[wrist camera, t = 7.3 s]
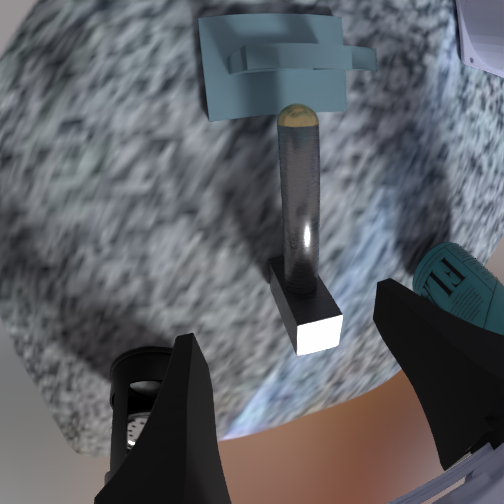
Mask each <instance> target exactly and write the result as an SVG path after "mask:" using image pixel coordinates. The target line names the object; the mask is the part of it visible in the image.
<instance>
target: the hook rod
mask: <svg viewBox="0 0 504 504" xmlns="http://www.w3.org/2000/svg"><path fill="white" fill-rule="evenodd" d="M277 130H278V145H279V161H280V179H281V198H282V219H283V243H284V256H283V257H278V258H272V259H268V261H269V276H270V289H271V292H272V294H273V297H274V299H275V302H276V304H277V307H278V309H279V312H280V314H281V317H282V320H283V322H284V325H285V327H286V330H287V332H288V335H289V337H290V340H291V343H292V345H293V348H294V350H295V353H296V355H297V356H300V355H304V354H308V353H312V352H316V351H320V350H324V349H327V348H331V347H335V346H338V343H339V337H340V331H341V324H342V318H343V314H342V313H341V311H340V309H339V308H338V306H337V304H336V303H335V301H334V299H333V298H332V296H331V294H330V293H329V291H328V290H327V288H326V286H325V285H324V283H323V282H322V280H321V278H320V277H319V275H318V260H319V227H320V144H319V120H318V117H317V115H316V113H315V112H314V110H313V109H311V108H310V107H309V106H307V105H304V104H300V103H295V104H290V105H288V106H286V107H285V108H284V109H283V110H282V111H281V112H280V114H279V116H278V119H277Z"/></svg>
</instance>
